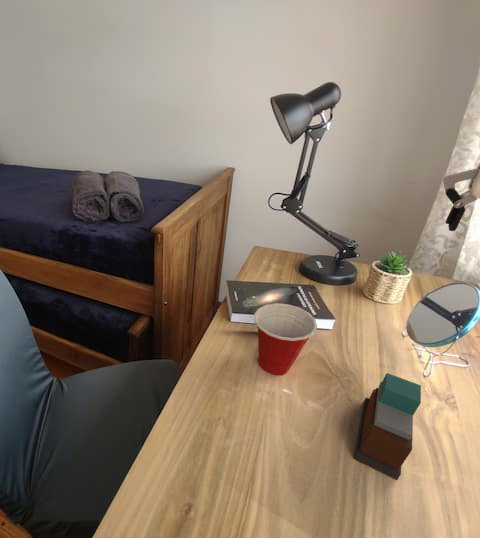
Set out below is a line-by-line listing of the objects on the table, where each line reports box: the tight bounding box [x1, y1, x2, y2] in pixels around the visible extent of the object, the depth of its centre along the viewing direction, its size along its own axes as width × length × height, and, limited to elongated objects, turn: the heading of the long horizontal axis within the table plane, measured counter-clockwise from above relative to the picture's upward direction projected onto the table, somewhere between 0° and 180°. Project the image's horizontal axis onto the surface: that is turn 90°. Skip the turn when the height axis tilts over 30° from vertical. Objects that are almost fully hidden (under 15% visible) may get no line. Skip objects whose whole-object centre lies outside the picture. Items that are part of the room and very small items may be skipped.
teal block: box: [374, 372, 422, 440], centre depth 54 cm, size 9×4×4 cm, turn 144°
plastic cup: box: [253, 302, 318, 376], centre depth 69 cm, size 11×11×12 cm
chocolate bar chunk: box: [353, 387, 413, 481], centre depth 57 cm, size 13×6×6 cm, turn 144°
